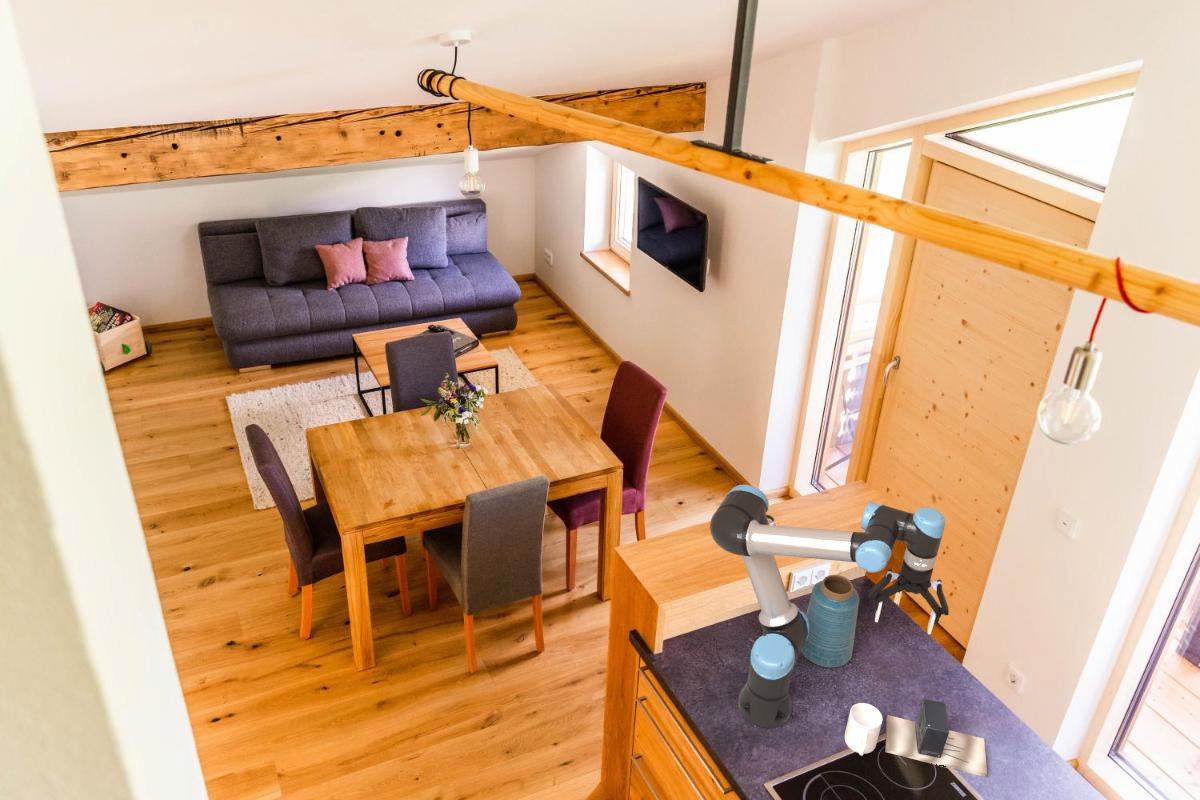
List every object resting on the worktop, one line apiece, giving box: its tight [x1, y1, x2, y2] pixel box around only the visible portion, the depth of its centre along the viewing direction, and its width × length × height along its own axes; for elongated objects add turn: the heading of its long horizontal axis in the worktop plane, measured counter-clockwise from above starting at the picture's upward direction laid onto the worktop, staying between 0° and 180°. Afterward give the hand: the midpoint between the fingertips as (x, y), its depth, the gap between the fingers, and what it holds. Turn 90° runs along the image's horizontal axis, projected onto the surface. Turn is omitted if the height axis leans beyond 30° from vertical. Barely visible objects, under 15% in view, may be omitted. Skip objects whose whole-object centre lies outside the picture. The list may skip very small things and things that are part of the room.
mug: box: [844, 702, 883, 757], centre depth 242 cm, size 9×12×11 cm
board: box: [884, 714, 988, 778], centre depth 245 cm, size 26×12×2 cm, turn 73°
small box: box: [915, 698, 950, 758], centre depth 243 cm, size 11×6×10 cm, turn 167°
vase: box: [801, 574, 860, 668], centre depth 270 cm, size 16×16×27 cm
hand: (902, 624), depth 238 cm, fingers open, 13 cm apart
